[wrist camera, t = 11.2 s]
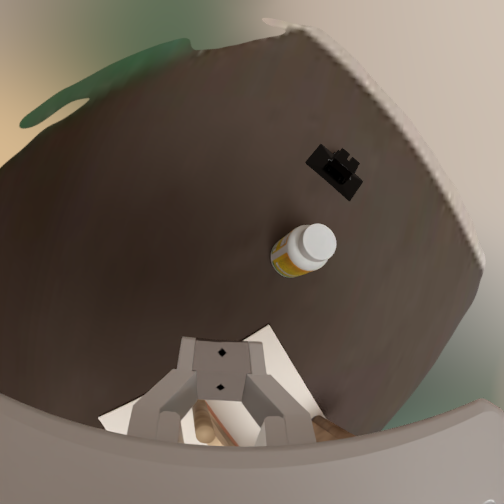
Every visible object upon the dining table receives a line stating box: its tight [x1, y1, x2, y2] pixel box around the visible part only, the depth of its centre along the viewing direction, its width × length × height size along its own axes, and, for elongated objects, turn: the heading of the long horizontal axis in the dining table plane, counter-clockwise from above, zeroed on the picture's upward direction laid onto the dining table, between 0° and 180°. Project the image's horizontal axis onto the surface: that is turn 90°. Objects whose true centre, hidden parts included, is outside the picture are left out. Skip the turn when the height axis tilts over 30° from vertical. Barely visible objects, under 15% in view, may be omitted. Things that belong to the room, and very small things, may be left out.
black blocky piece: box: [305, 144, 363, 201], centre depth 42 cm, size 12×7×5 cm, turn 52°
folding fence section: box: [192, 399, 235, 446], centre depth 26 cm, size 11×2×10 cm, turn 31°
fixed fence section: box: [312, 415, 355, 442], centre depth 27 cm, size 14×2×10 cm, turn 121°
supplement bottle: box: [271, 224, 336, 278], centre depth 34 cm, size 5×5×10 cm
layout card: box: [98, 325, 325, 446], centre depth 31 cm, size 26×22×1 cm
